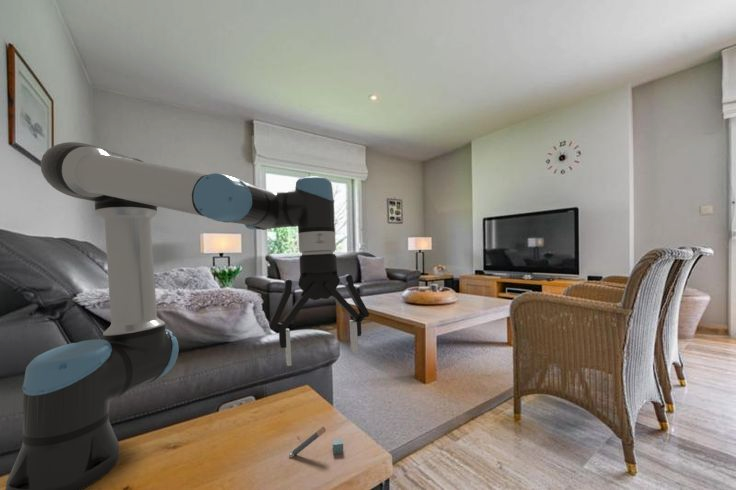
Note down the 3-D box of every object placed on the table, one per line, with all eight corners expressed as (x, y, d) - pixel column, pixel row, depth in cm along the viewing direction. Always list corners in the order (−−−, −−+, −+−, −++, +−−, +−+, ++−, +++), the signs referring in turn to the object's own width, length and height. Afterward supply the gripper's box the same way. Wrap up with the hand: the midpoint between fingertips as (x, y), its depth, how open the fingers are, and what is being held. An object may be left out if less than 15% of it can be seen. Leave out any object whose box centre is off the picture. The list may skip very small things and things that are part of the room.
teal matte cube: (333, 460, 61) (333, 444, 61) (332, 454, 63) (332, 439, 63) (343, 459, 62) (343, 443, 62) (342, 453, 63) (342, 438, 64)
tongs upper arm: (290, 460, 60) (288, 457, 60) (290, 456, 61) (288, 453, 61) (325, 431, 62) (323, 429, 61) (325, 428, 63) (323, 426, 63)
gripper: (253, 256, 55) (258, 375, 54) (380, 250, 64) (386, 352, 63) (253, 257, 62) (257, 362, 61) (367, 251, 71) (372, 343, 70)
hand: (322, 357), depth 62 cm, fingers open, 13 cm apart
